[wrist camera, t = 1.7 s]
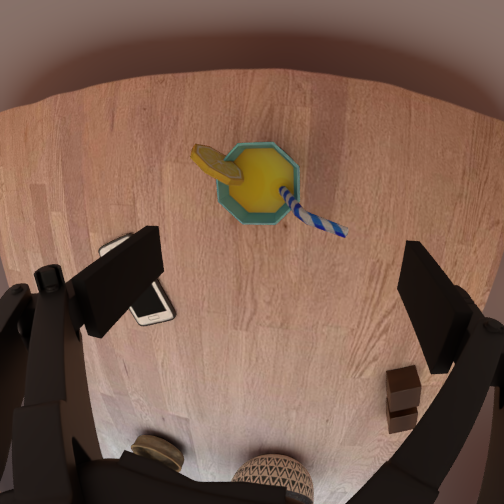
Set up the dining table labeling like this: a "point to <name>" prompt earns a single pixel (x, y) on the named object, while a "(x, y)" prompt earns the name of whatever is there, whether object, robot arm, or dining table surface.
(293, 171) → the cup
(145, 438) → the bowl
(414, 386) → the walnut block near
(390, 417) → the walnut block far
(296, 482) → the planter
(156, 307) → the cell phone
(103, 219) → the dining table surface
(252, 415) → the dining table surface
